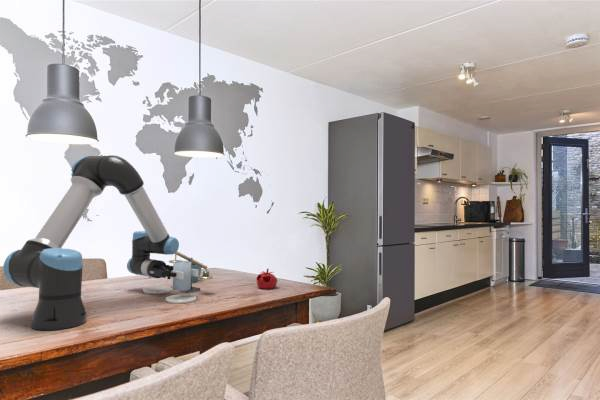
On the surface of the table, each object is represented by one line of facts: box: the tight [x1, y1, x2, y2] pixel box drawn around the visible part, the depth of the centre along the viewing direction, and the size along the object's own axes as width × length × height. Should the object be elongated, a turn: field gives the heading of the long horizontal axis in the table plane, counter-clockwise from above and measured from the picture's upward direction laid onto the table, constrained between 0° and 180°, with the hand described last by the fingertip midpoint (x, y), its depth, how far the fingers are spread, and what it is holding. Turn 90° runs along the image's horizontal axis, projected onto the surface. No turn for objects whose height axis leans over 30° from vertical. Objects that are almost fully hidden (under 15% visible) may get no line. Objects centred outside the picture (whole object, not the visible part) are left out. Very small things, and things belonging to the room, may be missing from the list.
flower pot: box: [192, 262, 203, 283], centre depth 203 cm, size 9×9×9 cm
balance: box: [168, 251, 214, 294], centre depth 180 cm, size 7×26×17 cm, turn 56°
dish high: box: [142, 285, 172, 295], centre depth 178 cm, size 12×12×1 cm
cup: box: [172, 260, 191, 292], centre depth 162 cm, size 7×7×11 cm
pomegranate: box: [256, 268, 278, 290], centre depth 191 cm, size 10×10×9 cm
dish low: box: [165, 293, 197, 305], centre depth 162 cm, size 12×12×1 cm
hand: (190, 274), depth 160 cm, fingers closed on cup, 7 cm apart
